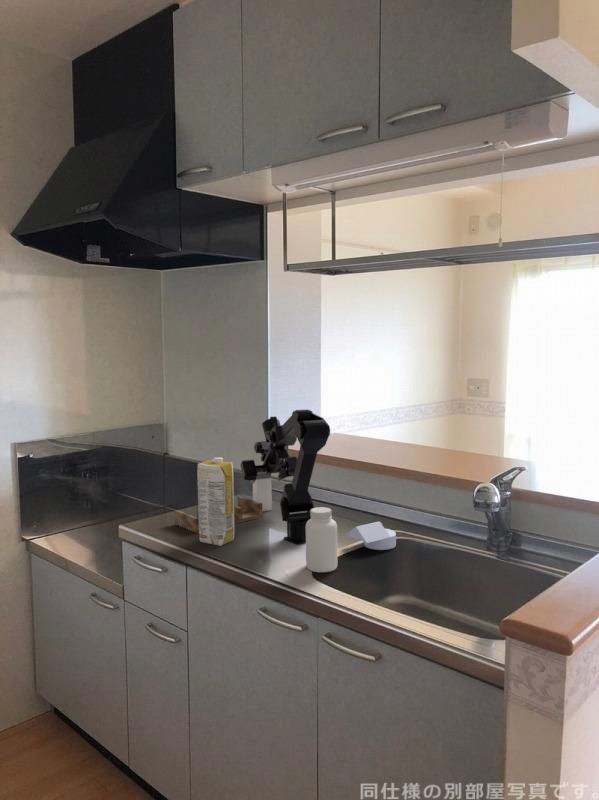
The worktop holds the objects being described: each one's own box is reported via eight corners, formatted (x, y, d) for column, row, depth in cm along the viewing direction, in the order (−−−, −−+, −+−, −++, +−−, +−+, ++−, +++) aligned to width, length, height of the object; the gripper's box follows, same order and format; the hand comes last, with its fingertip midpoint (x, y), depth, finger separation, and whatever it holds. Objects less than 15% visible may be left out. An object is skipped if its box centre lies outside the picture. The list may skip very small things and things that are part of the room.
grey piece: (271, 510, 215) (271, 472, 214) (257, 512, 214) (257, 473, 212) (267, 506, 220) (266, 469, 219) (253, 508, 218) (252, 470, 217)
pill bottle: (299, 566, 164) (299, 509, 163) (323, 559, 169) (323, 503, 168) (319, 575, 158) (318, 516, 156) (343, 568, 163) (343, 510, 161)
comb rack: (262, 516, 208) (262, 503, 207) (196, 533, 191) (195, 518, 191) (240, 509, 217) (240, 496, 216) (175, 524, 200) (174, 510, 200)
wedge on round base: (366, 555, 172) (402, 545, 180) (366, 530, 171) (402, 522, 179) (345, 546, 180) (380, 537, 187) (345, 522, 179) (381, 514, 186)
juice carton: (238, 539, 186) (236, 457, 183) (221, 547, 179) (219, 462, 176) (212, 534, 190) (210, 454, 188) (195, 542, 184) (192, 459, 181)
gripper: (296, 431, 209) (285, 458, 221) (241, 435, 202) (232, 463, 214) (306, 460, 203) (293, 486, 214) (249, 465, 196) (239, 492, 208)
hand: (265, 481), depth 213 cm, fingers open, 9 cm apart
